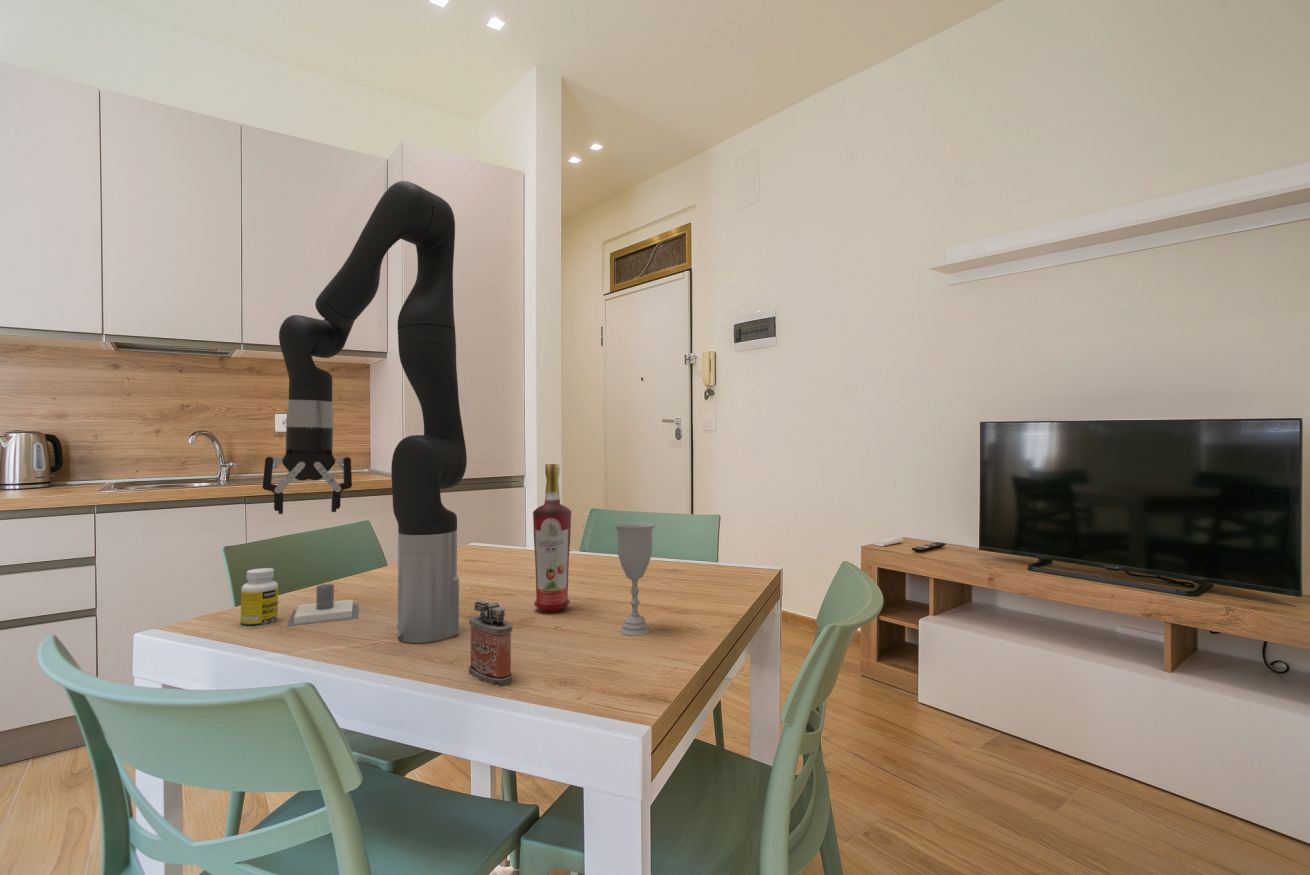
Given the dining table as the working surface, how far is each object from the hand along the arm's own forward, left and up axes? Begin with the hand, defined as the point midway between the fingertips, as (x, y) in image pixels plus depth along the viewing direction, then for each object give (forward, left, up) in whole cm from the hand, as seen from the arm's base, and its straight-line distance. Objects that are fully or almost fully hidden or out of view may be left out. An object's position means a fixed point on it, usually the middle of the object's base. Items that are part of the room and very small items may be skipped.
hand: (307, 512), depth 111 cm
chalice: (-51, +35, -19) cm, 65 cm away
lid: (-3, +3, -19) cm, 19 cm away
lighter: (-25, +45, -19) cm, 55 cm away
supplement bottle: (+7, +4, -19) cm, 21 cm away
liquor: (-42, +16, -19) cm, 49 cm away
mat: (-3, +3, -19) cm, 20 cm away
